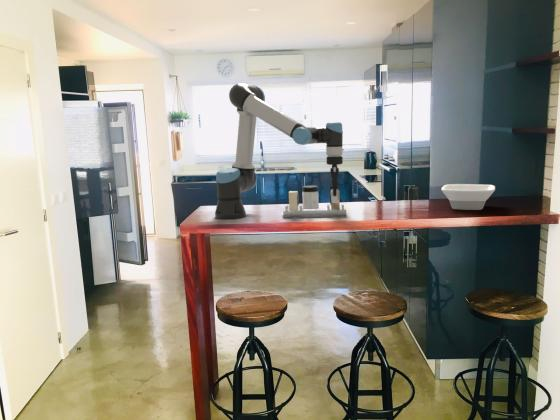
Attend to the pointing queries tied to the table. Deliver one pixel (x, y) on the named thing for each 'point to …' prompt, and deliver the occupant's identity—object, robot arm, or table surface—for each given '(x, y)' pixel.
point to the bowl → (468, 195)
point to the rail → (309, 213)
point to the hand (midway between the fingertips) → (334, 200)
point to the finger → (335, 205)
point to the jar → (310, 197)
